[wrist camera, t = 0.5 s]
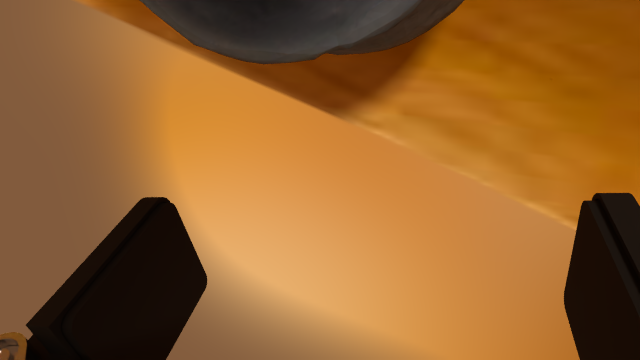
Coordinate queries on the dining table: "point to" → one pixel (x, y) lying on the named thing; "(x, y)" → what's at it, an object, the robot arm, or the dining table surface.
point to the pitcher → (299, 25)
